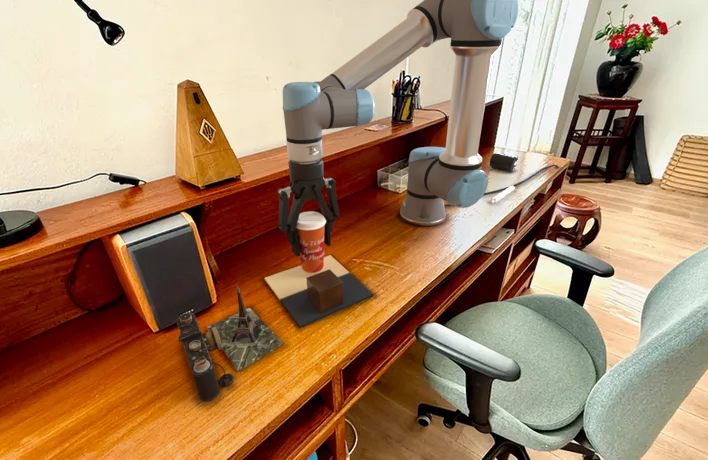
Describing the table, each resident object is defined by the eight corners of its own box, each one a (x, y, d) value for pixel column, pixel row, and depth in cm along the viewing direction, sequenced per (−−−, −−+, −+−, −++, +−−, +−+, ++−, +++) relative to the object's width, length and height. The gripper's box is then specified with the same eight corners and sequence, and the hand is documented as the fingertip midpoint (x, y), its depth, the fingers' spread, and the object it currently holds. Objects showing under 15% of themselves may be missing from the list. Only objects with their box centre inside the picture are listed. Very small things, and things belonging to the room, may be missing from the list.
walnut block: (330, 289, 86) (329, 269, 83) (343, 303, 82) (343, 282, 79) (307, 298, 83) (306, 277, 80) (320, 313, 79) (319, 291, 76)
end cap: (488, 169, 164) (490, 154, 160) (494, 165, 168) (497, 151, 165) (509, 174, 158) (513, 159, 155) (516, 170, 162) (519, 155, 159)
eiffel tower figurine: (205, 329, 76) (191, 277, 69) (249, 307, 82) (240, 257, 75) (238, 373, 66) (225, 317, 59) (286, 344, 72) (279, 291, 65)
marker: (493, 205, 130) (494, 199, 128) (488, 203, 131) (489, 197, 130) (514, 191, 141) (515, 185, 140) (509, 190, 142) (510, 184, 141)
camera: (238, 388, 63) (231, 355, 59) (198, 406, 60) (188, 373, 56) (214, 330, 75) (207, 300, 71) (180, 343, 72) (170, 312, 68)
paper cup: (299, 277, 88) (294, 227, 81) (295, 260, 94) (291, 212, 88) (331, 272, 90) (329, 222, 83) (325, 256, 96) (322, 208, 90)
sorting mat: (330, 256, 100) (330, 254, 100) (373, 295, 85) (373, 293, 85) (264, 279, 91) (264, 277, 90) (299, 327, 76) (299, 325, 76)
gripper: (266, 173, 71) (278, 269, 82) (354, 155, 81) (355, 243, 92) (253, 162, 76) (266, 254, 87) (337, 147, 86) (339, 231, 97)
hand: (311, 248), depth 90 cm, fingers closed on paper cup, 8 cm apart
